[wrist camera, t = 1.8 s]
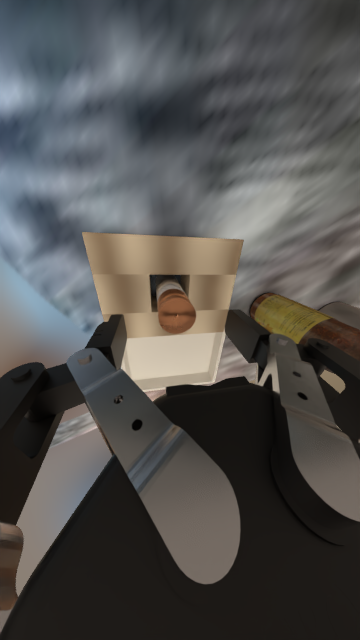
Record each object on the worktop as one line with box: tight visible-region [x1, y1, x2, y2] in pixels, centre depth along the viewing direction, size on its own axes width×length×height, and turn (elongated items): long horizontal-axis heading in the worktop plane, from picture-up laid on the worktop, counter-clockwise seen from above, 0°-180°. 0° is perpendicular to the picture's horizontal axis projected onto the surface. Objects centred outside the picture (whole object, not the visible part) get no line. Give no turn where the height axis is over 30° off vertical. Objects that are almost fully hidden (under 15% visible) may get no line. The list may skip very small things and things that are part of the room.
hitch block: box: [82, 232, 244, 338], centre depth 20 cm, size 16×12×6 cm
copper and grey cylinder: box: [155, 275, 196, 334], centre depth 17 cm, size 3×3×12 cm
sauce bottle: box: [250, 293, 360, 374], centre depth 19 cm, size 7×6×20 cm
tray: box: [121, 327, 226, 392], centre depth 28 cm, size 18×14×4 cm
